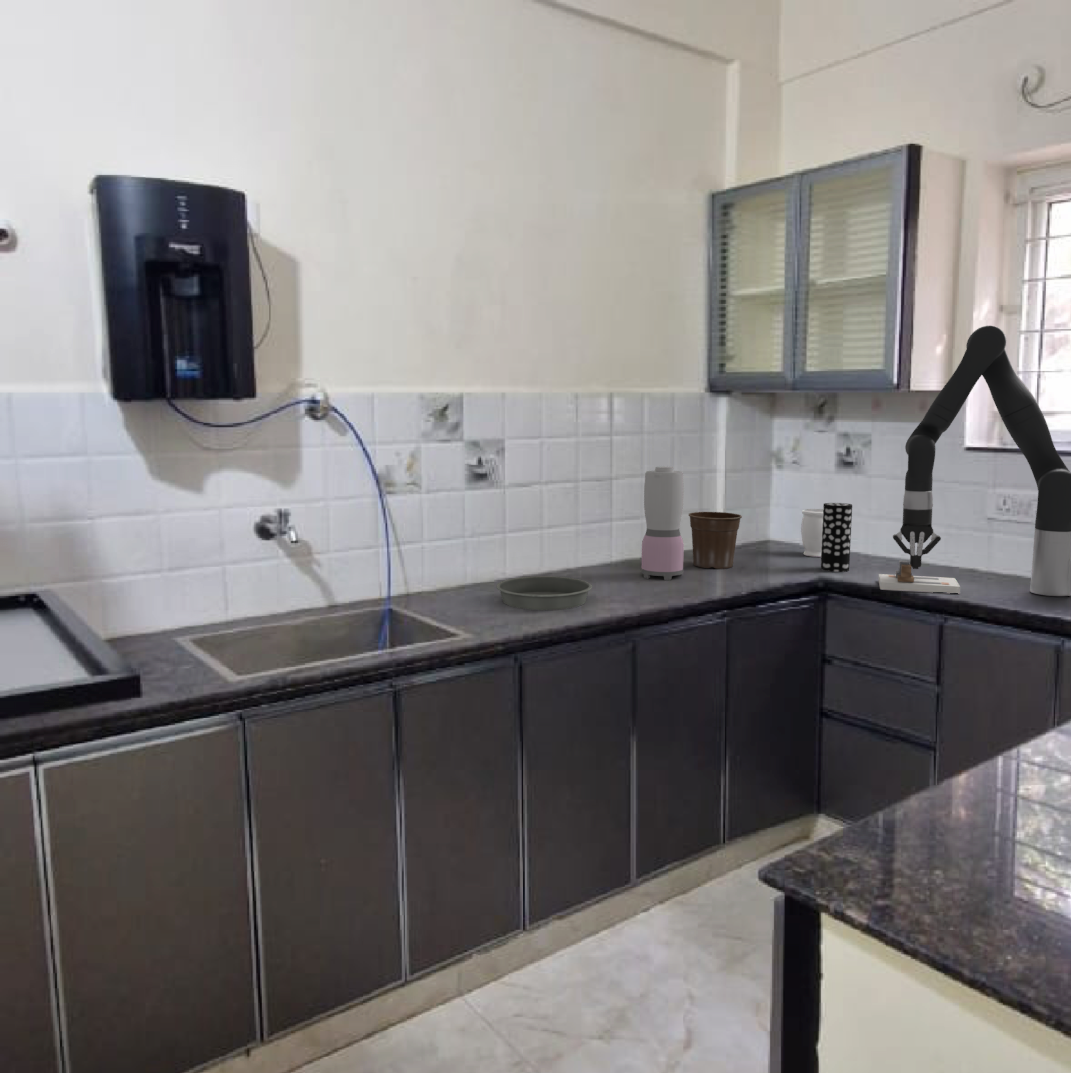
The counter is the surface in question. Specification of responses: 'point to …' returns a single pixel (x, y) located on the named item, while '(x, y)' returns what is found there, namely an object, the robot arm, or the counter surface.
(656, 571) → the blender
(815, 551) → the jar
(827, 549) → the white-spotted black cylinder
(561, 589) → the cake pan
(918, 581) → the switch panel
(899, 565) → the charcoal tab
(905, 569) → the brown tab
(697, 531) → the plant pot
